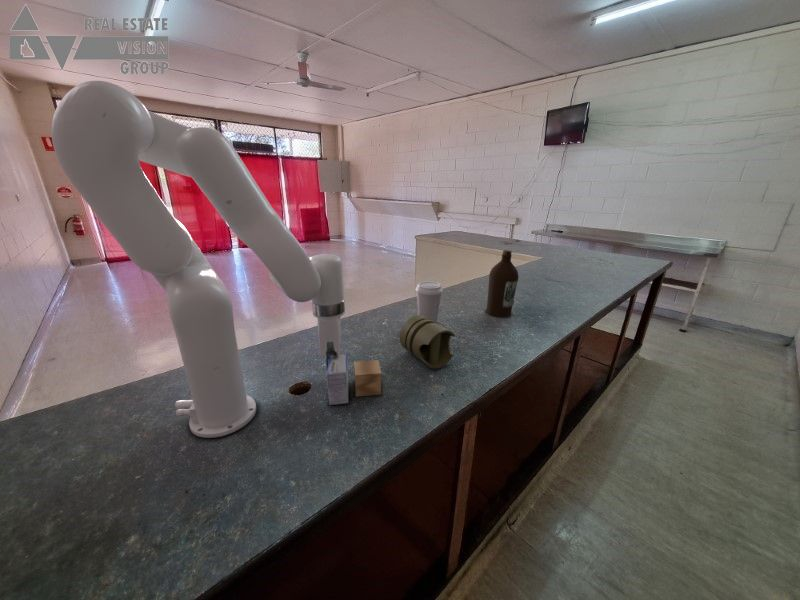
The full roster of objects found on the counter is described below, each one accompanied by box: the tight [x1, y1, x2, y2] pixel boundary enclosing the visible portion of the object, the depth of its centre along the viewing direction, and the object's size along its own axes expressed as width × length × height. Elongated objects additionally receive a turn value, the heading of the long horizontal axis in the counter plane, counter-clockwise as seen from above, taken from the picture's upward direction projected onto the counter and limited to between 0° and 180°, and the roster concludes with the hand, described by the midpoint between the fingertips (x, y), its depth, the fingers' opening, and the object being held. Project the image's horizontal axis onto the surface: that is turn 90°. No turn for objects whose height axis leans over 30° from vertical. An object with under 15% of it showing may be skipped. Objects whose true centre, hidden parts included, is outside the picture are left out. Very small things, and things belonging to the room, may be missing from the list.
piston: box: [399, 314, 456, 370], centre depth 90 cm, size 11×12×11 cm
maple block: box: [353, 359, 382, 397], centre depth 77 cm, size 6×6×6 cm
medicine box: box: [326, 353, 350, 406], centre depth 74 cm, size 8×4×9 cm, turn 9°
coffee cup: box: [415, 280, 444, 324], centre depth 112 cm, size 10×10×15 cm
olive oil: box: [485, 249, 519, 318], centre depth 122 cm, size 11×11×25 cm
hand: (333, 372), depth 81 cm, fingers closed
